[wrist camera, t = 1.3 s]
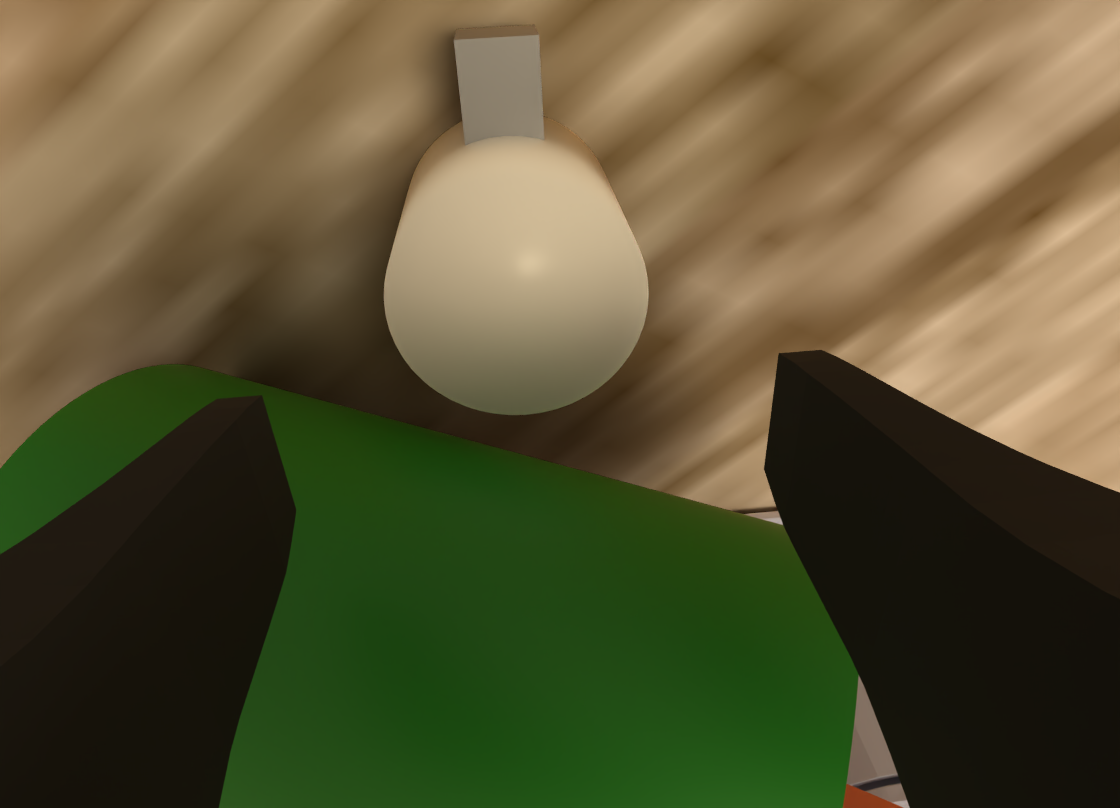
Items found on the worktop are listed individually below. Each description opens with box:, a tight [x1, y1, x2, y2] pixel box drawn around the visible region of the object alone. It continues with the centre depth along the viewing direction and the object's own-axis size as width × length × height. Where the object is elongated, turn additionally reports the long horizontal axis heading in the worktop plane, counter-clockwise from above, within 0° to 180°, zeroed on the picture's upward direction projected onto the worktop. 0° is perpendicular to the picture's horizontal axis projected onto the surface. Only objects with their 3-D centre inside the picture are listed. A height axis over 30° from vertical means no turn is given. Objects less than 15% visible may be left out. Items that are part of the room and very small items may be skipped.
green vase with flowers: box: [0, 364, 903, 808], centre depth 16 cm, size 10×9×20 cm
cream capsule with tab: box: [384, 25, 649, 415], centre depth 16 cm, size 5×7×5 cm
